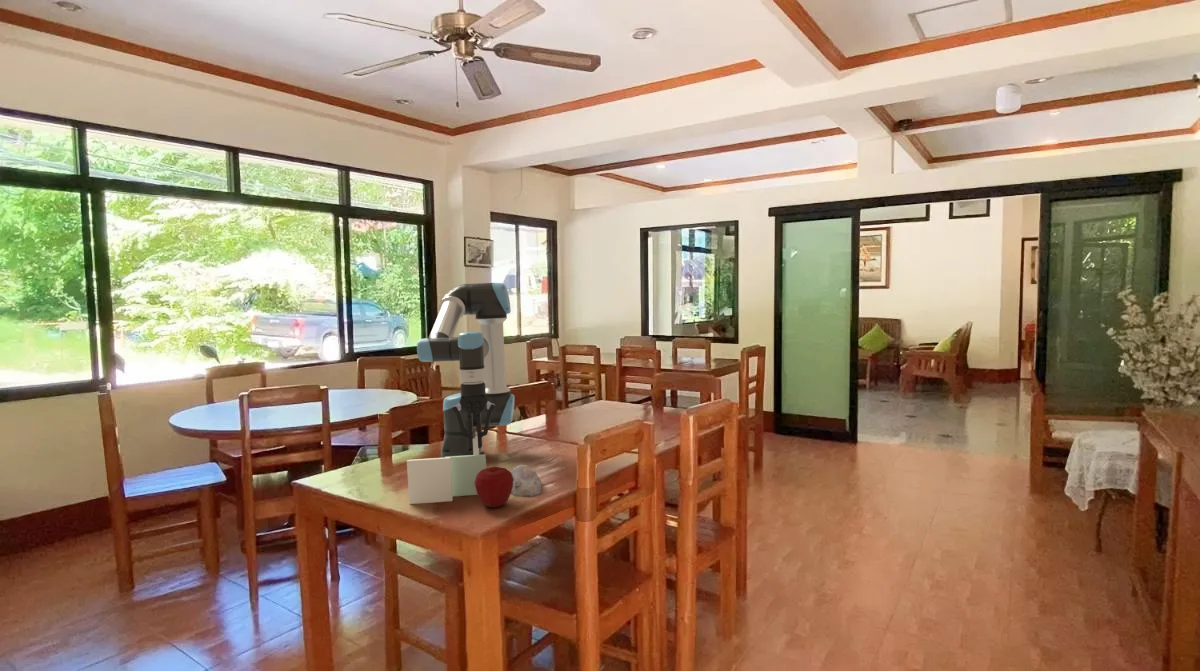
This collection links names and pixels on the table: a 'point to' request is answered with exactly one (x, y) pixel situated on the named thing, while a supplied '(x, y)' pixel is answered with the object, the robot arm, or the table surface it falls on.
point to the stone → (525, 481)
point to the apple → (494, 486)
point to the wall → (429, 480)
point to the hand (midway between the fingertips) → (476, 458)
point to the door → (466, 473)
